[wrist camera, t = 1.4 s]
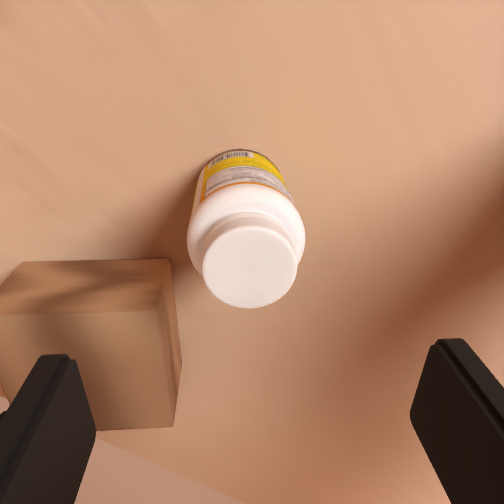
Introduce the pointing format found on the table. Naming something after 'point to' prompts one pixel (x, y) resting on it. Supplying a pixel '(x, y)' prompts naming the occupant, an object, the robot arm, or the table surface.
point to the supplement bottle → (244, 230)
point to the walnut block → (97, 334)
